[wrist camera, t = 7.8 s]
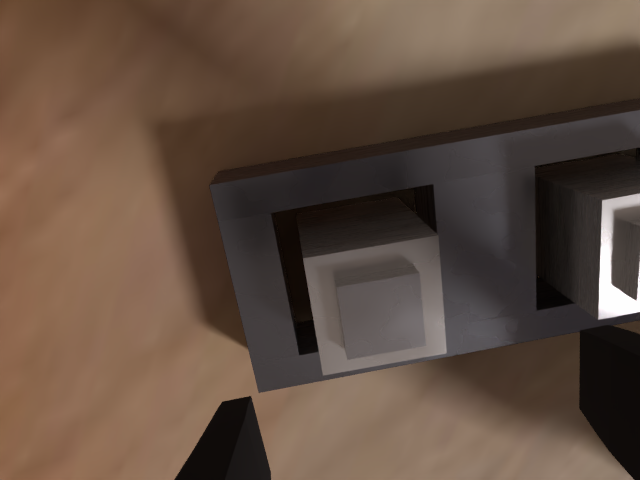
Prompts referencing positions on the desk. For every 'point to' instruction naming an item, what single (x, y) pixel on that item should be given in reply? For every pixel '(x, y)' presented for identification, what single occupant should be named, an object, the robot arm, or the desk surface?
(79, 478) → the desk surface
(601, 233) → the square peg with knob
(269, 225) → the plate with square hole
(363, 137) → the desk surface
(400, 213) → the stepped square block
